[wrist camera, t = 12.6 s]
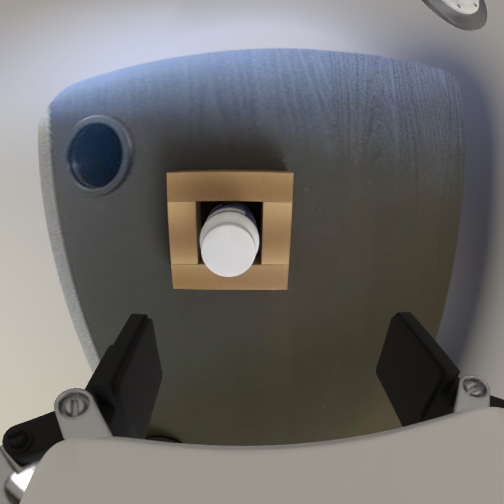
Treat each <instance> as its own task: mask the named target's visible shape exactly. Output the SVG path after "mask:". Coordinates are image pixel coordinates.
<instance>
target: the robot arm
mask: <svg viewBox="0 0 504 504" xmlns="http://www.w3.org/2000/svg"><path fill="white" fill-rule="evenodd" d="M442 1H443V2H444V3H445V4H446V5H448V6H449V7H451V8H452V9H454V10H456V11H457V12H460V13H462V14H472V13H475V12H476V11H477V10H478V8H479V0H442ZM376 373H377V376H378V378H379V380H380V382H381V384H382V386H383V388H384V390H385V392H386V394H387V396H388V398H389V400H390V402H391V404H392V406H393V408H394V410H395V412H396V414H397V416H398V418H399V420H400V422H401V424H402V426H403V427H400V428H396V429H392V430H387V431H383V432H378V433H373V434H368V435H362V436H356V437H350V438H344V439H337V440H330V441H321V442H312V443H301V444H288V445H268V446H216V445H198V444H183V443H171V442H162V441H153V440H145V436H146V433H147V429H148V425H149V422H150V418H151V415H152V411H153V408H154V404H155V401H156V397H157V394H158V391H159V387H160V384H161V380H162V369H161V364H160V360H159V354H158V349H157V344H156V338H155V333H154V327H153V321H152V319H149V318H148V317H147V315H146V314H131V315H130V317H129V319H128V320H127V322H126V324H125V326H124V327H123V329H122V331H121V332H120V334H119V336H118V337H117V339H116V341H115V343H114V344H113V345H110V346H109V348H108V349H107V351H106V352H105V354H104V356H103V358H102V359H101V361H100V363H99V365H98V367H97V368H96V370H95V372H94V374H93V375H92V377H91V379H90V381H89V383H88V385H87V387H86V388H85V390H84V389H80V388H79V389H78V388H74V389H69V390H66V391H64V392H62V393H61V394H60V395H59V396H58V397H57V398H56V400H55V403H54V410H55V411H53V412H50V413H48V414H45V415H43V416H40V417H37V418H34V419H32V420H29V421H26V422H24V423H21V424H18V425H15V426H13V427H11V428H9V429H8V430H7V431H6V433H5V434H4V437H3V445H1V446H0V504H504V400H503V399H500V398H497V397H494V396H491V395H490V387H489V386H488V384H487V382H486V381H485V380H484V379H482V378H481V377H478V376H476V375H465V376H463V377H462V378H461V379H460V378H459V377H458V375H459V373H460V371H459V370H458V368H457V367H456V366H455V364H454V363H453V362H452V361H451V359H450V358H449V357H448V356H447V354H446V353H445V352H444V351H443V350H442V348H441V347H440V346H439V345H438V344H437V342H436V341H435V340H434V339H433V338H432V336H431V335H430V334H429V333H428V332H427V331H426V329H425V328H424V327H423V326H422V325H421V324H420V323H419V321H418V320H417V319H416V318H415V317H414V316H413V315H412V313H410V312H401V313H396V315H395V316H394V317H392V319H391V322H390V325H389V329H388V332H387V336H386V339H385V342H384V346H383V349H382V352H381V355H380V358H379V361H378V364H377V367H376Z"/></svg>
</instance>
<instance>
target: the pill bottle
mask: <svg viewBox="0 0 504 504" xmlns="http://www.w3.org/2000/svg"><path fill="white" fill-rule="evenodd" d="M200 248H201V255H202V259H203V261H204V263H205V265H206V266H207V267H208V269H210V270H211V271H212V272H214V273H215V274H217V275H220V276H224V277H233V276H237V275H240V274H242V273H244V272H245V271H246V270H247V269H248V268H249V267H250V266H251V265H252V263H253V261H254V259H255V256H256V254H257V251H258V248H259V234H258V230H257V225H256V221H255V218H254V215H253V213H252V212H251V210H250V209H249V208H248V207H246V206H245V205H243V204H241V203H238V202H233V201H229V202H224V203H221V204H219V205H217V206H216V207H215V208H214V209H213V210H212V211H211V212H210V214H209V215H208V217H207V219H206V222H205V224H204V226H203V228H202V230H201V233H200Z"/></svg>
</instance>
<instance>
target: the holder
mask: <svg viewBox="0 0 504 504" xmlns="http://www.w3.org/2000/svg"><path fill="white" fill-rule="evenodd" d="M293 176H294V173H292V172H289V171H282V170H230V169H224V170H175V171H172V172H168V173H167V204H168V226H169V243H170V257H171V270H172V281H173V289H220V290H287V284H288V269H289V254H290V237H291V219H292V200H293ZM201 201H260V237H259V253H257V254H256V256H255V259H254V261H253V263H252V265H251V266H250V267H249V268H248V269H247V270H246V271H245V272H244V273H242V274H240V275H237V276H233V277H224V276H220V275H217V274H215V273H214V272H212V271H211V270H210V269H208V267H207V266H206V265H205V263H204V261H203V259H202V255H201V248H200V233H201Z"/></svg>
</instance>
